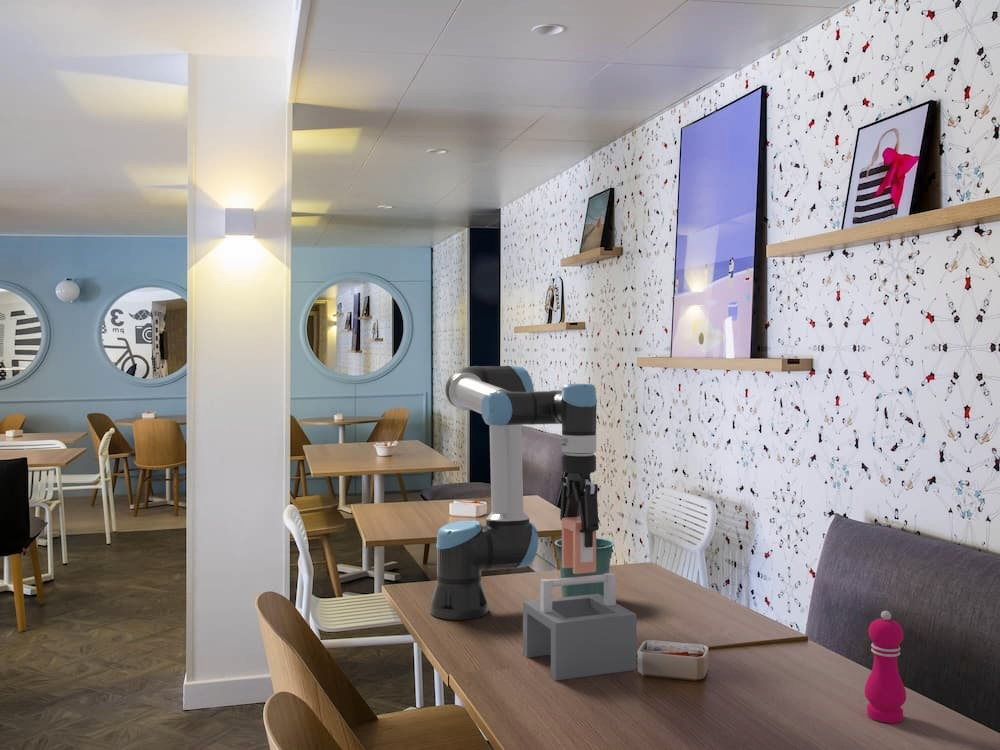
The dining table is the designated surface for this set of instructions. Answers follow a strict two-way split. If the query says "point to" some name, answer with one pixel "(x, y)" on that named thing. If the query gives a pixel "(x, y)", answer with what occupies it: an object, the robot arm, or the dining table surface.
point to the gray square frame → (580, 630)
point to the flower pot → (601, 567)
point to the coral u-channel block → (575, 547)
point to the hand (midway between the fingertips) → (578, 557)
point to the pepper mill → (885, 672)
